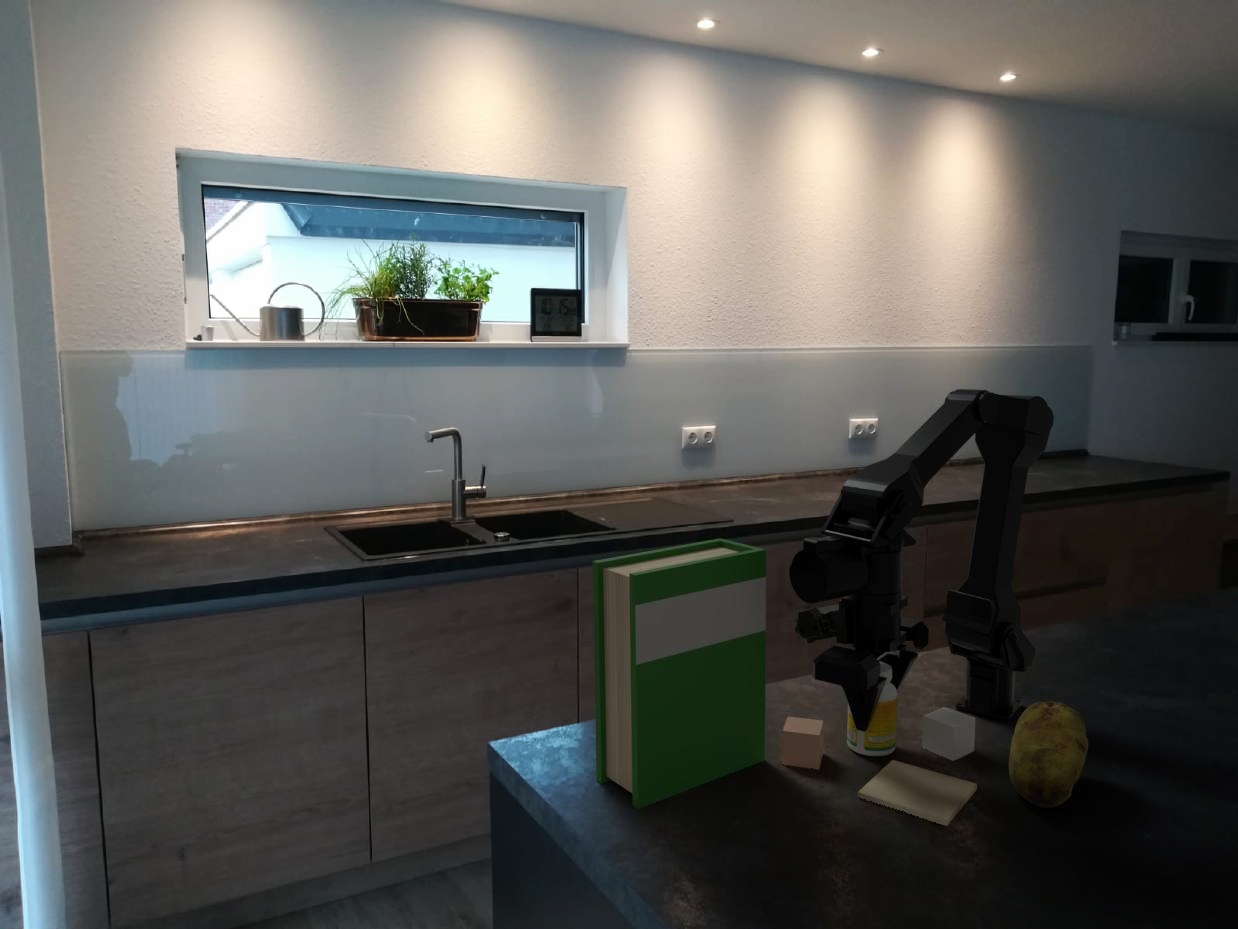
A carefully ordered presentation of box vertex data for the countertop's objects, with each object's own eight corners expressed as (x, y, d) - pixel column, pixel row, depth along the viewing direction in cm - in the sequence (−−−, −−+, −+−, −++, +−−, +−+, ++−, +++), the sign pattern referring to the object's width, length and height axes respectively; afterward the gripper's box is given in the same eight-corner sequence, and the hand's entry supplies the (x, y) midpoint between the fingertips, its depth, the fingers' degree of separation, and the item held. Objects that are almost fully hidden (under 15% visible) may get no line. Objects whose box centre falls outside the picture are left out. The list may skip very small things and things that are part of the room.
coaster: (892, 765, 98) (892, 760, 97) (976, 789, 92) (977, 784, 92) (857, 797, 91) (857, 792, 90) (946, 826, 85) (947, 820, 85)
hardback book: (638, 809, 89) (635, 575, 86) (596, 780, 95) (592, 561, 92) (764, 760, 99) (766, 549, 96) (720, 737, 105) (720, 538, 102)
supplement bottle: (838, 748, 102) (839, 667, 100) (861, 733, 105) (862, 654, 104) (882, 762, 98) (884, 678, 97) (904, 746, 102) (906, 665, 100)
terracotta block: (787, 749, 102) (787, 716, 101) (823, 754, 101) (823, 720, 100) (782, 765, 98) (782, 730, 98) (818, 770, 97) (819, 735, 96)
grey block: (942, 739, 104) (943, 707, 103) (974, 751, 101) (975, 718, 100) (922, 749, 102) (923, 715, 101) (953, 761, 98) (954, 727, 98)
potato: (975, 794, 91) (978, 719, 90) (1030, 755, 99) (1033, 686, 98) (1060, 825, 85) (1064, 746, 84) (1110, 780, 93) (1115, 708, 92)
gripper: (843, 562, 111) (841, 681, 113) (769, 595, 97) (768, 732, 99) (932, 575, 104) (928, 702, 106) (866, 613, 90) (863, 759, 92)
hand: (871, 721), depth 101 cm, fingers closed on supplement bottle, 5 cm apart
